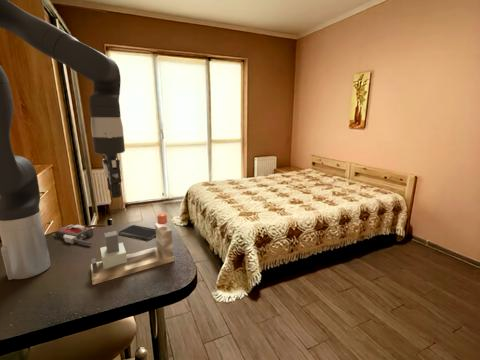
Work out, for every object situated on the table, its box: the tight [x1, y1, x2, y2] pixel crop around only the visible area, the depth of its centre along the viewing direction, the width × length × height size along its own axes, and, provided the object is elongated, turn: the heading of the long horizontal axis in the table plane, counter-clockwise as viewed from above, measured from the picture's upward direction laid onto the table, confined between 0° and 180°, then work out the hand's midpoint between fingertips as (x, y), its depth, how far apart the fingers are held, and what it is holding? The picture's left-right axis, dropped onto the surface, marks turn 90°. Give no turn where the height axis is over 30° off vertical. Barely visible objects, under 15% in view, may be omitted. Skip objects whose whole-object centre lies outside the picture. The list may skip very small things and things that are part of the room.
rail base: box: [90, 222, 175, 285], centre depth 76 cm, size 22×9×10 cm, turn 121°
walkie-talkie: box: [54, 224, 94, 245], centre depth 95 cm, size 9×4×20 cm
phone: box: [118, 224, 156, 242], centre depth 98 cm, size 8×1×15 cm
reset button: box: [156, 213, 168, 224], centre depth 79 cm, size 3×3×2 cm
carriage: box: [100, 230, 127, 268], centre depth 73 cm, size 6×7×8 cm
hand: (114, 193), depth 72 cm, fingers open, 8 cm apart
